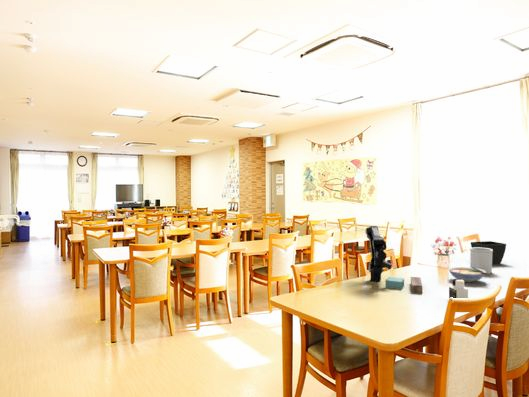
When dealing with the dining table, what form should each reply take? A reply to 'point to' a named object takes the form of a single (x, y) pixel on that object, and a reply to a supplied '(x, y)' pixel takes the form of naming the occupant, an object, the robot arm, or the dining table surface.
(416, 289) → the brown bar
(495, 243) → the flower pot
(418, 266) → the dining table surface
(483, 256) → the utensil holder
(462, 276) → the ramen bowl
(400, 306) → the dining table surface
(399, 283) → the teal block
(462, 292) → the medicine bottle
